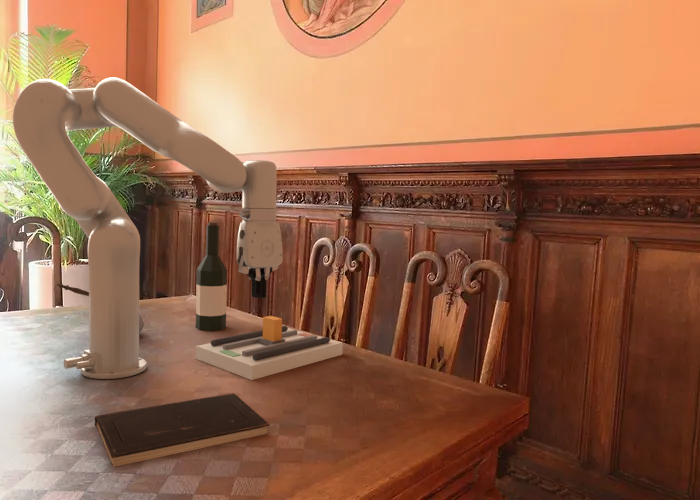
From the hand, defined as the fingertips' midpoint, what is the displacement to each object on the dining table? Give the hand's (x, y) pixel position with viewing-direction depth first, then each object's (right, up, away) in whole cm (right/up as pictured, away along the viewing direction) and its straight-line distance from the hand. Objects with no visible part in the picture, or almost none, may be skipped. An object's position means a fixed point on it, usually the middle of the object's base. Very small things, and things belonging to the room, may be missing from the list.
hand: (258, 297), depth 122 cm
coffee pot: (-42, -12, +14) cm, 46 cm away
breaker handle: (+2, -11, +5) cm, 12 cm away
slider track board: (+2, -15, +5) cm, 16 cm away
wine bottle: (-19, -12, +31) cm, 38 cm away
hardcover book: (-6, -19, -37) cm, 42 cm away
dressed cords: (+2, -12, +5) cm, 13 cm away
